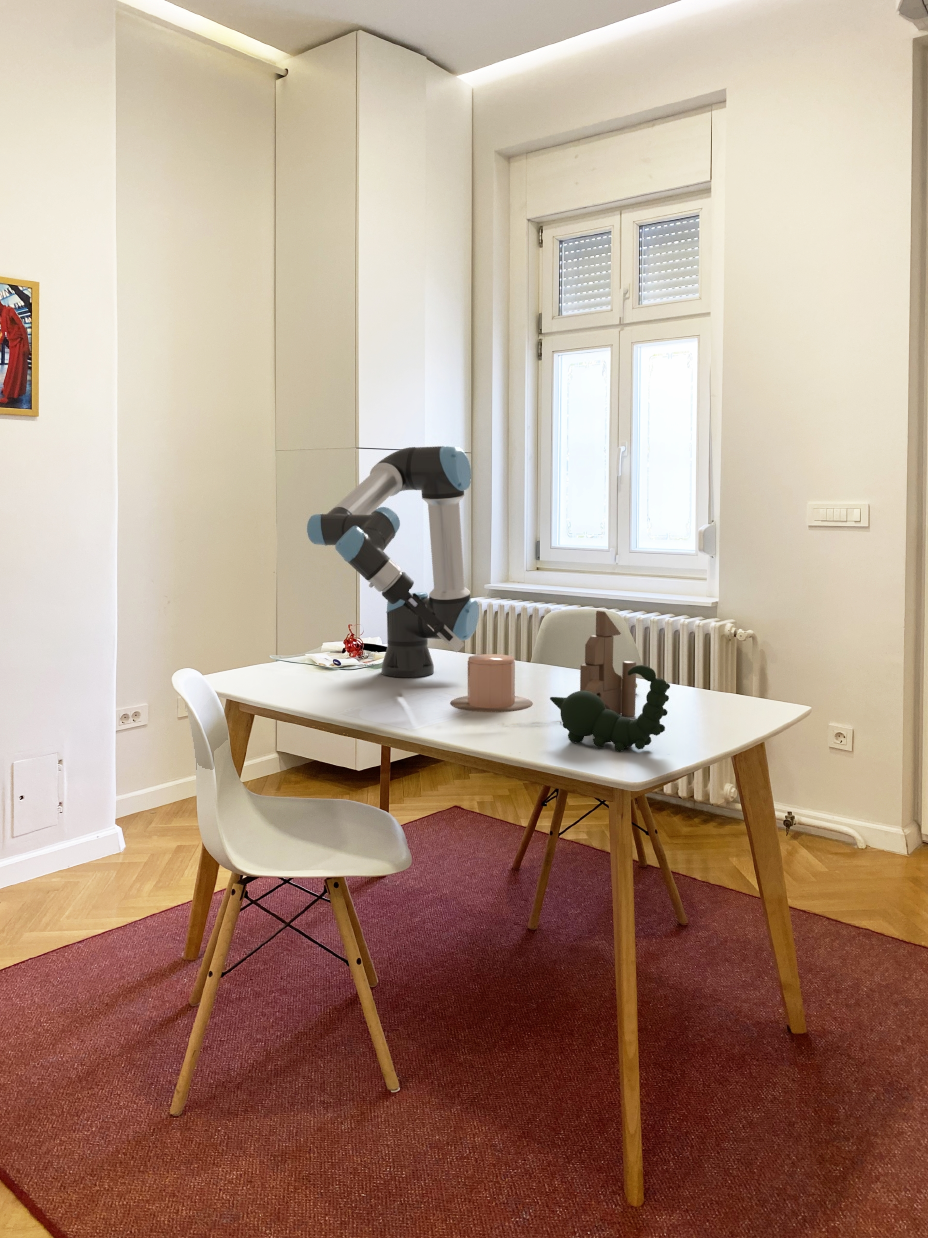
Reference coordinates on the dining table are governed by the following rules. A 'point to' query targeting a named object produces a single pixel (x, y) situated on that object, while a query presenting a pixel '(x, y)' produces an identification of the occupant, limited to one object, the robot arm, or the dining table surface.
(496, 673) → the tan domed cylinder
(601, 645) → the wooden toy
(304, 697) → the dining table surface
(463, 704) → the walnut board
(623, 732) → the toy figurine
